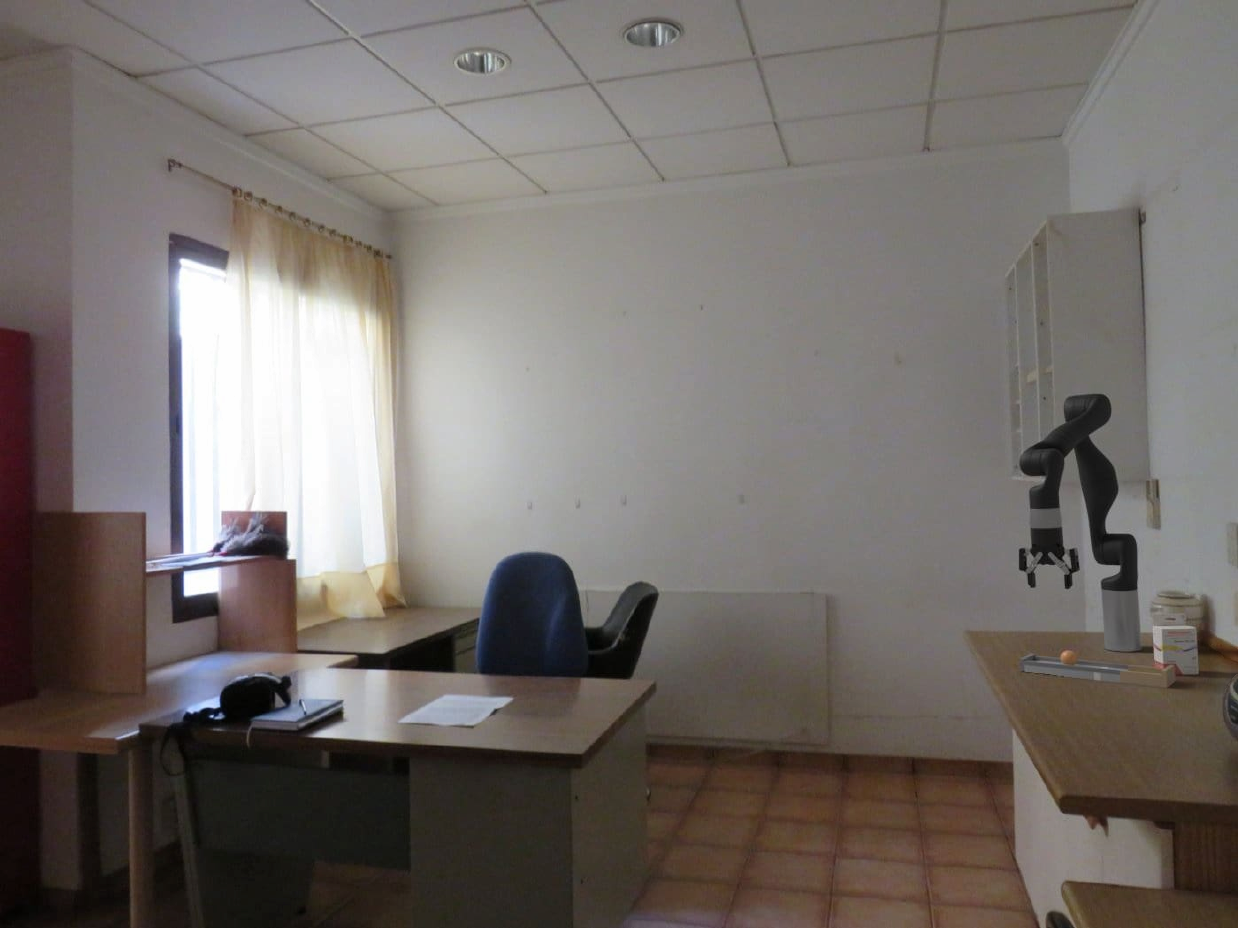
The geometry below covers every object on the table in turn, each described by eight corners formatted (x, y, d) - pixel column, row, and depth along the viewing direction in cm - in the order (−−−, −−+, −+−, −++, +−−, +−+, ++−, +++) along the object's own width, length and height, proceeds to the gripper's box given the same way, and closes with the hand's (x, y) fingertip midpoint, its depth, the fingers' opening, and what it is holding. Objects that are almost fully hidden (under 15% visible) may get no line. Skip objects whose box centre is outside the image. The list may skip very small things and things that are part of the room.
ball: (1064, 663, 235) (1063, 648, 236) (1080, 665, 233) (1079, 649, 233) (1058, 666, 233) (1057, 651, 233) (1075, 668, 230) (1074, 652, 230)
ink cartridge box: (1164, 675, 226) (1160, 616, 226) (1154, 671, 231) (1150, 613, 231) (1200, 674, 225) (1196, 615, 225) (1189, 670, 230) (1185, 612, 230)
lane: (1032, 666, 243) (1031, 651, 243) (1175, 681, 219) (1174, 664, 219) (1020, 671, 237) (1019, 656, 238) (1166, 687, 214) (1165, 671, 214)
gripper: (1080, 524, 231) (1084, 587, 231) (1022, 524, 241) (1026, 585, 240) (1070, 526, 225) (1074, 591, 225) (1012, 527, 235) (1016, 588, 235)
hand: (1050, 588), depth 233 cm, fingers open, 8 cm apart
